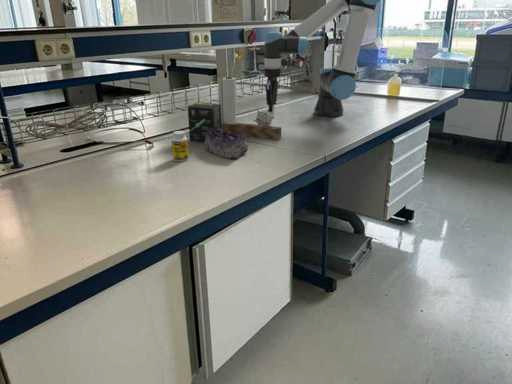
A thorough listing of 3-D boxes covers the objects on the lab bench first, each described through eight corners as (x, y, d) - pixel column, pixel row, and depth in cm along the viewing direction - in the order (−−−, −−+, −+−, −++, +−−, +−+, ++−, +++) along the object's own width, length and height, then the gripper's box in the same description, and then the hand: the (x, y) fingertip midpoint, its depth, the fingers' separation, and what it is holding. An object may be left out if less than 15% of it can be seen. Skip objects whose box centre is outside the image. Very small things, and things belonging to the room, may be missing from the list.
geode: (193, 151, 162) (194, 125, 159) (215, 148, 171) (216, 123, 168) (230, 160, 150) (232, 133, 147) (252, 157, 158) (254, 130, 155)
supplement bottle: (173, 162, 150) (171, 134, 145) (172, 157, 155) (170, 130, 150) (189, 161, 151) (187, 133, 147) (188, 156, 156) (186, 129, 152)
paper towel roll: (239, 123, 200) (238, 77, 192) (229, 126, 196) (228, 79, 188) (228, 121, 205) (227, 76, 196) (219, 123, 201) (217, 77, 192)
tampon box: (222, 138, 178) (221, 103, 172) (213, 144, 170) (212, 108, 164) (199, 135, 182) (197, 101, 176) (189, 141, 174) (187, 106, 168)
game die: (266, 136, 194) (271, 122, 186) (250, 129, 194) (254, 115, 186) (273, 123, 199) (277, 109, 190) (256, 116, 199) (261, 102, 190)
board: (281, 138, 177) (281, 127, 175) (278, 140, 175) (279, 129, 173) (225, 132, 186) (224, 121, 184) (222, 134, 183) (221, 123, 181)
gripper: (269, 65, 200) (268, 114, 209) (259, 68, 189) (259, 120, 198) (284, 66, 197) (282, 116, 207) (275, 69, 186) (274, 122, 196)
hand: (271, 118), depth 202 cm, fingers closed
